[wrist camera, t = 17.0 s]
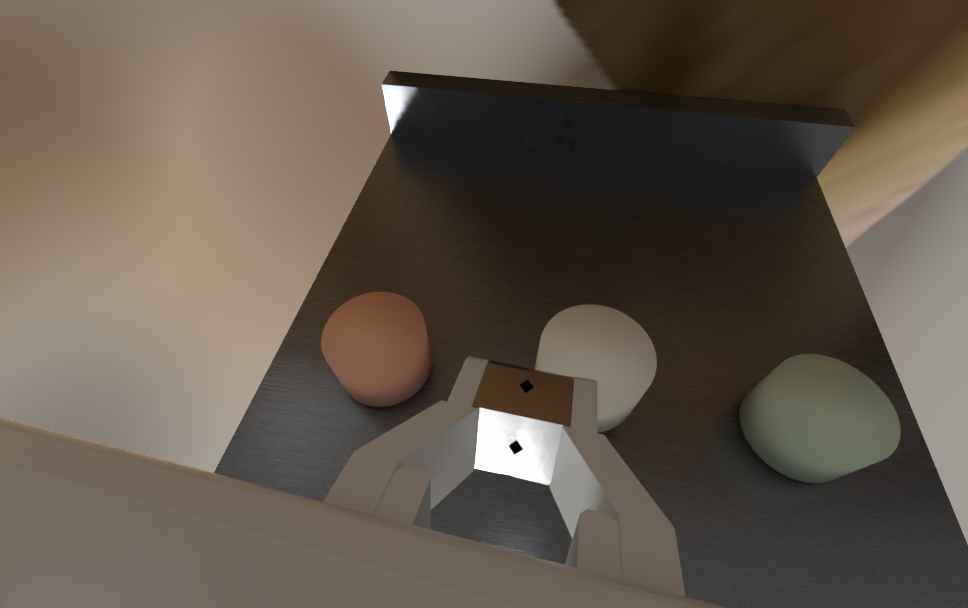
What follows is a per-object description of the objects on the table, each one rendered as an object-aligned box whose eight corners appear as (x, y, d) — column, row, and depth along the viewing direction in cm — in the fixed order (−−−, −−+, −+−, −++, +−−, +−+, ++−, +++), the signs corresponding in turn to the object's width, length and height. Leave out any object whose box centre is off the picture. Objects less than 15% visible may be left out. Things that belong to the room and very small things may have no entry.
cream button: (545, 297, 20) (533, 394, 17) (654, 312, 19) (659, 415, 16) (538, 332, 22) (527, 422, 19) (635, 347, 22) (637, 441, 19)
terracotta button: (343, 285, 22) (303, 370, 19) (436, 299, 21) (409, 388, 19) (358, 318, 24) (324, 398, 22) (441, 331, 24) (418, 414, 21)
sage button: (762, 346, 20) (785, 451, 17) (877, 362, 19) (920, 474, 16) (732, 376, 22) (748, 472, 19) (833, 391, 22) (864, 492, 19)
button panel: (389, 70, 33) (72, 586, 14) (845, 110, 29) (1263, 873, 10) (412, 195, 43) (244, 598, 24) (755, 236, 39) (886, 748, 20)
